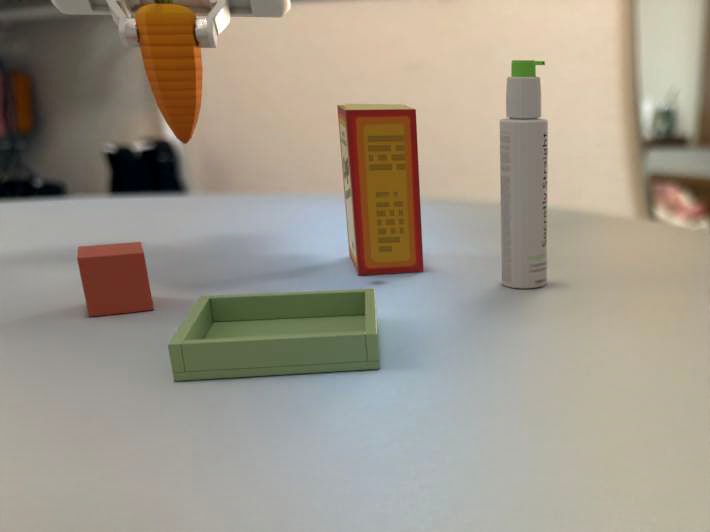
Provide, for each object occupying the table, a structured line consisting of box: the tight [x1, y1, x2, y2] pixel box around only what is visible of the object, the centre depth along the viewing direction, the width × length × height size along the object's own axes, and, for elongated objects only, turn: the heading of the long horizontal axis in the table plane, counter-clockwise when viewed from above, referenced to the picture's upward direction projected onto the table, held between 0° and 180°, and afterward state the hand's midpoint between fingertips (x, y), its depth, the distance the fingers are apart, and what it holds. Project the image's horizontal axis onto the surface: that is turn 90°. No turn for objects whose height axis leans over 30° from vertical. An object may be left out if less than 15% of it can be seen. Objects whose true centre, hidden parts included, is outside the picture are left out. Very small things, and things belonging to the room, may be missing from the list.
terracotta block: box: [76, 241, 155, 318], centre depth 73 cm, size 5×5×5 cm
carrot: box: [134, 0, 203, 145], centre depth 74 cm, size 5×5×15 cm
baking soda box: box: [336, 102, 424, 276], centre depth 87 cm, size 10×6×16 cm
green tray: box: [167, 288, 380, 382], centre depth 63 cm, size 14×13×3 cm
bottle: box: [499, 59, 549, 290], centre depth 78 cm, size 4×4×20 cm
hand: (169, 42), depth 73 cm, fingers closed on carrot, 5 cm apart
